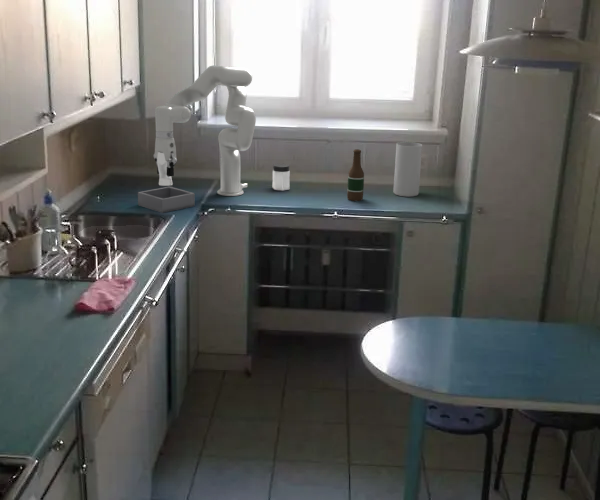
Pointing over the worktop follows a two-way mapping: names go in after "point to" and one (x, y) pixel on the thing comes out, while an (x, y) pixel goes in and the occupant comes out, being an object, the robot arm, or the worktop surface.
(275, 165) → the jar
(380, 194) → the worktop surface
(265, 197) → the worktop surface
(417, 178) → the cylinder vase
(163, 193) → the bin
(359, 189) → the beer bottle
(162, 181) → the beer glass
